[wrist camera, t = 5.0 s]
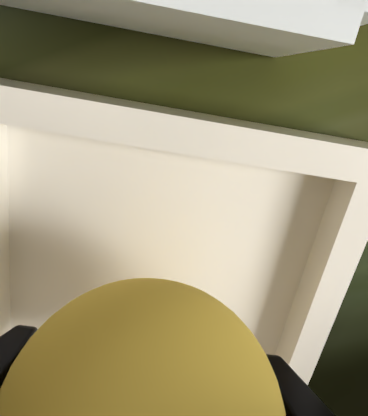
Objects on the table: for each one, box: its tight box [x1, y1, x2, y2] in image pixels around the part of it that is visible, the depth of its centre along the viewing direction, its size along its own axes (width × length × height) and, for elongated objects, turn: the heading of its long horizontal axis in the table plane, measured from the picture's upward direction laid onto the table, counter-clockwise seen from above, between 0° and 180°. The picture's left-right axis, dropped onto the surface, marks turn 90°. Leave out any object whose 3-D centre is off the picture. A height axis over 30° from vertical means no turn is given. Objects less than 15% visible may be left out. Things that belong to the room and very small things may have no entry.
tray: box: [0, 78, 368, 385], centre depth 10 cm, size 10×10×2 cm
